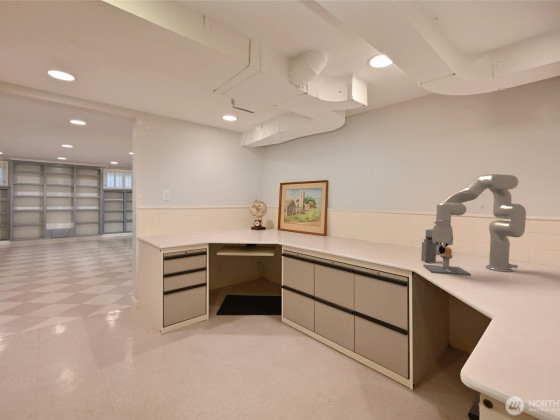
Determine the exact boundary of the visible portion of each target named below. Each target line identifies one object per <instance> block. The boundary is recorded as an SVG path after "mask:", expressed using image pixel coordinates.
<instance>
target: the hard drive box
mask: <svg viewBox="0 0 560 420" xmlns="http://www.w3.org/2000/svg"><path fill="white" fill-rule="evenodd" d="M433 229H434V227H433V228H428V229H425V235H424V236H425V237H424V239H426V236H431V237H432V235H433ZM438 254H440V252H439V247H438V245H437V244H436V255H438Z"/></svg>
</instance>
